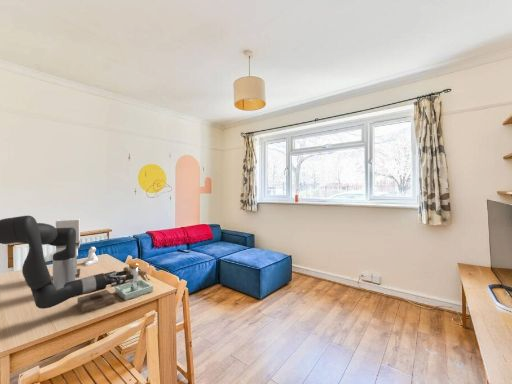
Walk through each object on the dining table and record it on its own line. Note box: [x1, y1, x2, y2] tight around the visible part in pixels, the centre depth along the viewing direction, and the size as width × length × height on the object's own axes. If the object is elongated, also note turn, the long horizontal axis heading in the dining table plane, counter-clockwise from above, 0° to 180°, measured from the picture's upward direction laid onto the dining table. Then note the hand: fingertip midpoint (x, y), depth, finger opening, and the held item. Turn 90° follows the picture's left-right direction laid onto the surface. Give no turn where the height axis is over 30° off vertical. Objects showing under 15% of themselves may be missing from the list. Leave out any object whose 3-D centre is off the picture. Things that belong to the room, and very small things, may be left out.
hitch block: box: [77, 289, 116, 314], centre depth 111 cm, size 12×12×3 cm
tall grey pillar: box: [55, 217, 81, 279], centre depth 144 cm, size 11×11×35 cm
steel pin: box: [128, 262, 140, 292], centre depth 123 cm, size 5×5×14 cm
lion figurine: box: [122, 266, 151, 282], centre depth 137 cm, size 15×5×9 cm, turn 101°
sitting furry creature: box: [82, 246, 99, 267], centre depth 169 cm, size 10×9×12 cm
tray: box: [114, 278, 154, 301], centre depth 123 cm, size 14×14×3 cm
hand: (129, 274), depth 122 cm, fingers open, 8 cm apart
